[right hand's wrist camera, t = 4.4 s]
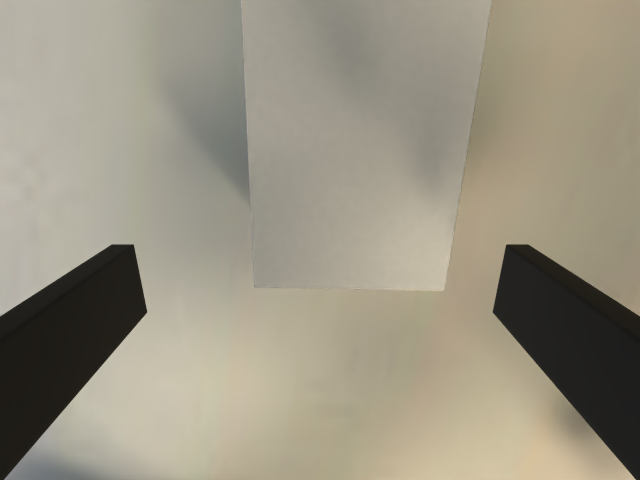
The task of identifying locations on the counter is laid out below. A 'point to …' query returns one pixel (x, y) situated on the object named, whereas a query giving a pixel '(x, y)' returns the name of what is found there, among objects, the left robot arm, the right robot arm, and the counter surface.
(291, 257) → the cabinet
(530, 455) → the counter surface
